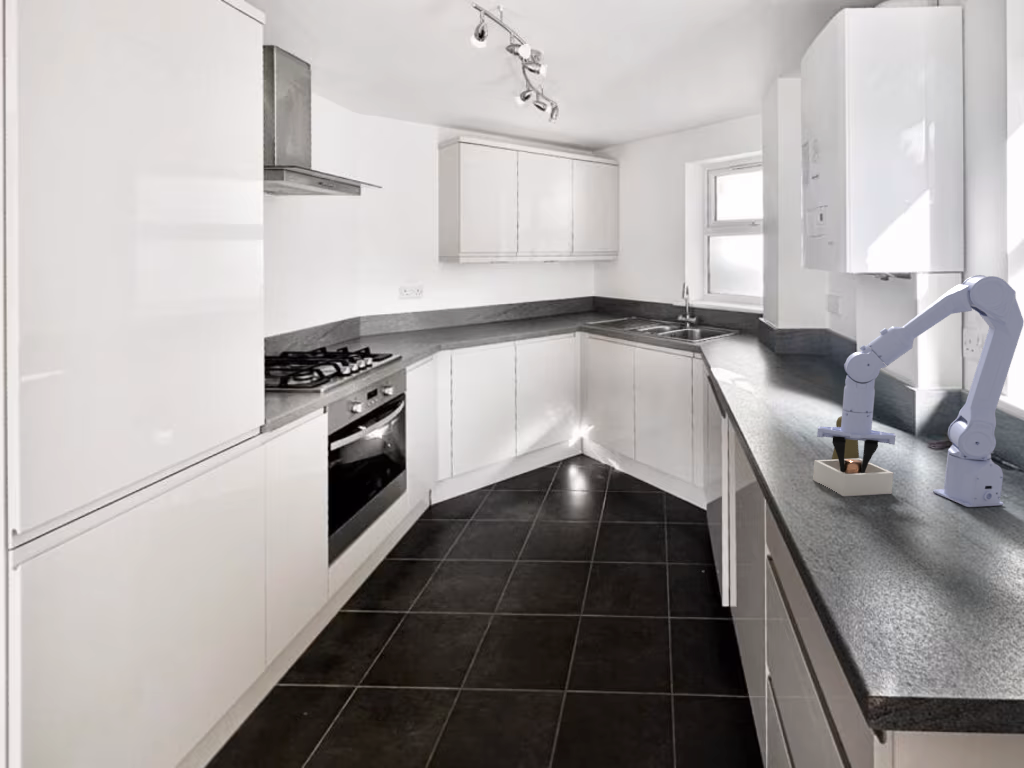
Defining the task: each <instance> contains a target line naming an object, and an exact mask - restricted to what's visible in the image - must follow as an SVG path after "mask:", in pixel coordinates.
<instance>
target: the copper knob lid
mask: <svg viewBox="0 0 1024 768" xmlns="http://www.w3.org/2000/svg"><path fill="white" fill-rule="evenodd" d="M861 465H862V462H861V461H859V460H853V459H847V460H845V465H844V472H845V473H847V474H857V473H861Z"/></svg>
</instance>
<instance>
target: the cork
mask: <svg viewBox="0 0 1024 768" xmlns="http://www.w3.org/2000/svg"><path fill="white" fill-rule="evenodd" d="M841 421H842V415H841V416H838V417H837V419H836V423H835V427H841ZM855 458H860V455H859V440H850V439H846V442H845V454H844V459H855ZM834 459H838V456H837V453H836V450H835V448H833V451H832V455H831V459H830V460H834Z"/></svg>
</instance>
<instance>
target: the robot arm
mask: <svg viewBox="0 0 1024 768" xmlns="http://www.w3.org/2000/svg"><path fill="white" fill-rule="evenodd" d="M1016 296H1017V295H1016V291H1015V289H1014V288H1012V286H1011V285H1010V284H1009V283H1007V281H1006V280H1004V279H1003V278H1001V277H999V276H994V275H993V276H990V275H989V276H986V275H981V274H979V275H977V274H976V275H973V276H970V277H968V278H966V279H965V280H964V281H963V282H962V283H960V284H957V285H955V286H954V287H952V288H950V289H949V290H947V291H946V292H945V293H944V294H942V295H941V296H939V297H938V298H937V299H936V300H935V301H932V303H931V304H929V305H928V306H927V307H925V308H924V309H923V310H922V311H920V312H919V313H918V314H917V315H915V317H913V318H912V319H910V320H909V321H908V322H907V323H905V324H904V325H902V326H890V327H889V328H888V329H887V327H884V328H883V329H880V331H879V333H880V334H879V335H878V336H877V337H876V338H874V339H873V340H871V341H870V342H868V344H866V345H864V344H862V345H861V346H859V349H860V351H856V352H853V353H850V355H849V356H848V357H847V358H846V361H845V363H844V364H843V367H844V371H845V373H846V374H847V375H846V377H845V382H844V384H845V385H844V388H843V398H842V410H841V411H842V412H841V413H842V414H841V416H842V421H841V427H837V426H820V425H818V426H817V435H816V438H831V439H832V446H833V447H834V448H835V450H836V453H837V456H838V459H839V464H840V471H841V472H843V473H844V454H845V442H846V439H850V440H858V441H860V442H861V441H863V442H864V443H863V455H862V459H863V460H862V466H861V473H865V471H866V468H867V465H868V463H869V462H870V461H871V459H872V457H873V455H874V454H875V452H876V451H877V449H878V447H879V443H881V444H883V443H884V444H888V445H893V446H894V445H896V433H892V432H884V431H879V430H873V429H872V428H873V417H874V405H875V393H876V389H875V384H876V379H877V377H878V376H879V374H880V371H881V369H886V367H887V366H890V365H891V364H893V362H895V361H897V360H898V359H900V357H902V356H903V355H905V354H907V353H908V352H909V351H910V350H912V349H913V344H914V340H915V339H916V338H917V337H919V336H921V335H922V334H924V333H925V332H926V331H928V330H930V329H931V328H933V327H934V326H936V325H937V324H939V323H940V322H942V321H944V320H945V319H946V318H947V317H949V316H950V315H953V314H960V313H966V312H973V310H974V311H975V312H977V313H978V314H979V316H980V317H981V318H982V319H983V320H984V322H985V323H986V324H987V326H988V331H987V334H986V337H985V340H984V344H983V347H982V350H981V353H980V356H979V360H978V363H977V366H976V369H975V372H974V375H973V379H972V381H971V385H970V387H969V388H970V389H969V391H968V394H967V396H966V397H967V398H966V401H965V403H964V404H963V406H962V407H961V409H960V410H959V412H958V414H957V417H956V418H955V420H953V421H952V422H951V423H950V425H949V426H948V430H947V437H948V439H949V441H950V442H951V443H952V444H951V445H950V447H949V448H948V450H947V457H946V466H945V473H944V474H945V475H944V485H943V488H939V489H937V488H936V489H933V490H932V492H933V493H935V494H937V495H939V496H941V497H943V498H946V499H947V500H951V501H953V502H956V503H957V504H960V505H962V506H964V507H967V508H977V507H978V508H979V507H993V506H995V507H996V506H1003V505H1004V502H1003V501H1001V496H1002V487H1003V481H1004V473H1003V469H1002V468H1001V466H999V465H998V464H997V463H995V462H994V460H992V453H993V452H994V450H995V448H996V445H997V439H996V435H995V429H996V426H997V418H996V410H997V407H998V404H999V401H1000V398H1001V395H1002V392H1003V388H1004V385H1005V383H1006V379H1007V376H1008V373H1009V370H1010V368H1011V364H1012V361H1013V359H1014V355H1015V352H1016V349H1017V345H1018V342H1019V339H1020V336H1021V333H1022V330H1023V327H1024V318H1023V315H1022V312H1021V309H1020V307H1019V304H1018V301H1017V297H1016ZM834 448H833V449H834Z"/></svg>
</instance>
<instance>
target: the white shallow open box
mask: <svg viewBox="0 0 1024 768" xmlns="http://www.w3.org/2000/svg"><path fill="white" fill-rule="evenodd" d="M845 460H847V459H844V465H845ZM853 460H859V461H861V462H862V460H863V458H861V457H859V458H855V459H853ZM861 466H862V465H861ZM812 475H813V477H812V481H814V482H816V483H818V484H819V483H820V485H821V484H822V485H821V486H823V485H824V487H825V486H826V488H827V487H828V488H827V489H829V488H830V489H829V490H831V489H832V490H833V492H834V491H835V492H834V493H836V492H837V494H838V495H840V496H842V497H853V496H854V497H855V496H871V495H873V496H874V495H890V494H892V493H893V485H894V484H893V482H894V472H892V471H890V470H888V469H886V468H883V467H881V466H878V465H877V464H874V463H872V462H870V461H869V463H868V465H867V468H866V471H865V473H857V474H847V473H845V472H844V473H843V472H841V471H840V464H839V459H834V460H831V459H818V460H817V459H815V460H814V461H813V474H812ZM832 490H831V491H832Z"/></svg>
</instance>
